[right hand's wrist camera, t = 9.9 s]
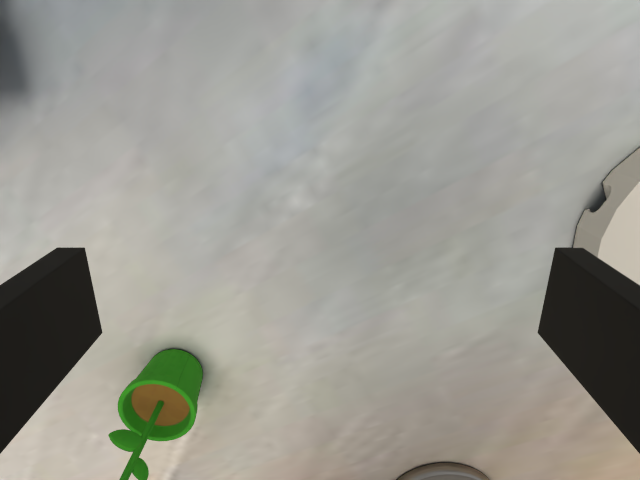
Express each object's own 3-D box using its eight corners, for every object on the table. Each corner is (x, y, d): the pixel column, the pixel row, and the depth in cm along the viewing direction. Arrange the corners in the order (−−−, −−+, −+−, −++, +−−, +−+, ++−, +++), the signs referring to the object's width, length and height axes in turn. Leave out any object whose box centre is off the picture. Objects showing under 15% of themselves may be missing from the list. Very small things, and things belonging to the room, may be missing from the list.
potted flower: (126, 374, 50) (-42, 633, 27) (159, 327, 48) (8, 566, 25) (196, 412, 52) (97, 685, 29) (231, 369, 50) (154, 627, 27)
